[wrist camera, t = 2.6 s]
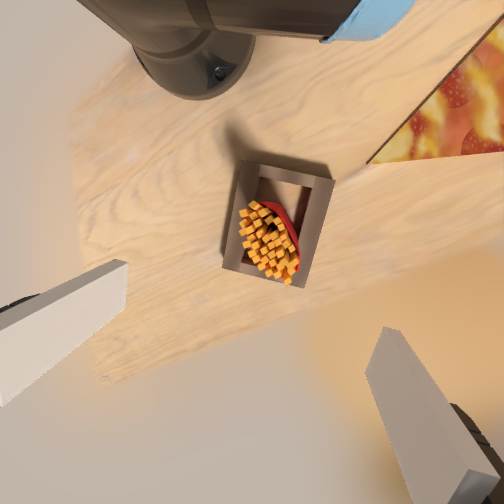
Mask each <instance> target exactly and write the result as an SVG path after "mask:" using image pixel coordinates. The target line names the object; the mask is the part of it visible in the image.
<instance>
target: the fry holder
mask: <svg viewBox="0 0 504 504" xmlns="http://www.w3.org/2000/svg"><path fill="white" fill-rule="evenodd" d="M260 177H265V178H269V179H274V180H278V181H283V182H287V183H292V184H296V185H301V186H306V187H310V188H311V190H310V194H309V197H308V201H307V205H306V209H305V212H304V216H303V220H302V224H301V227H300V231H299V235H298V245H299V250H300V263H299V271H297V272H295V273H293V274H292V282H291V283H290V284H289V285H292V286H296V287H300V288H305V284H306V281H307V277H308V274H309V270H310V267H311V264H312V260H313V257H314V253H315V250H316V246H317V243H318V239H319V236H320V233H321V229H322V226H323V222H324V219H325V215H326V212H327V209H328V205H329V202H330V198H331V195H332V191H333V188H334V184H335V181H336V180H332V179H328V178H323V177H318V176H314V175H309V174H305V173H300V172H295V171H291V170H286V169H281V168H277V167H272V166H268V165H263V164H258V163H254V162H249V161H244V160H242V162H241V168H240V173H239V178H238V184H237V189H236V195H235V200H234V205H233V211H232V216H231V222H230V227H229V232H228V238H227V243H226V249H225V254H224V259H223V265H222V268H224V269H228V270H232V271H236V272H240V273H244V274H248V275H252V276H256V277H260V278H264V279H268V280H272V281H276V282H280V283H284V282H283V278H280V277H279V278H277V279H275V277H274V275H271V276H270V277H268V278H267V276H266V274H265V271H266V268H265V269H263V270H261V271H259V268H258V266H257V265H258V263H259V262H260V261H259V262H257V263H255V264H254V262H253V260H252V259H248V258H244V254H245V249H246V248H245V249H244V246H243V244H242V243H243V242H244V241H246V240H247V237H248V236H247V234H246V235H244V236H241V235H240V233H239V232H238V231H239V230H241V229H243V228H242V227H241V225H240V224H239V222H241V221H243V220H244V217H241V216H240V213H239V211H240V210H243V209H248V208H250V206H249V205H248V204H250V203H251V202H252V201H256V196H257V192H258V187H259V182H260ZM284 284H285V283H284Z"/></svg>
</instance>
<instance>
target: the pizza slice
mask: <svg viewBox="0 0 504 504" xmlns="http://www.w3.org/2000/svg"><path fill="white" fill-rule="evenodd" d="M501 151H504V18H503V19H502V20H501V21H500V22H499V23H498V24H497V25H496V26H495V27H494V28H493V30H492V31H491V32H490V33H489V34H488V35H487V36H486V37H485V38H484V39H483V40H482V41H481V42H480V44H479V45H478V46H477V47H476V48H475V49H474V50H473V51H472V52H471V53H470V54H469V55H468V56H467V57H466V59H465V60H464V61H463V62H462V63H461V64H460V65H459V66H458V67H457V68H456V69H455V70H454V71H453V73H452V74H451V75H450V76H449V77H448V78H447V79H446V80H445V81H444V82H443V83H442V84H441V85H440V86H439V88H438V89H437V90H436V91H435V92H434V93H433V94H432V95H431V96H430V97H429V98H428V99H427V100H426V102H425V103H424V104H423V105H422V106H421V107H420V108H419V109H418V110H417V111H416V112H415V113H414V114H413V115H412V117H411V118H410V119H409V120H408V121H407V122H406V123H405V124H404V125H403V126H402V127H401V128H400V129H399V130H398V132H397V133H396V134H395V135H394V136H393V137H392V138H391V139H390V140H389V141H388V142H387V143H386V144H385V146H384V147H383V148H382V149H381V150H380V151H379V152H378V153H377V154H376V155H375V156H374V157H373V158H372V159H371V161H370V162H369V163H368V164H367V165H370V164H380V163H390V162H401V161H411V160H421V159H431V158H441V157H451V156H461V155H471V154H481V153H491V152H501Z"/></svg>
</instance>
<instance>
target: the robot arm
mask: <svg viewBox="0 0 504 504" xmlns="http://www.w3.org/2000/svg"><path fill="white" fill-rule="evenodd" d="M77 1H78V2H79V3H81V4H82V5H83V6H84V7H86V8H87V9H88V10H90V11H91V12H92V13H93V14H95V15H96V16H97V17H98V18H100V19H101V20H102V21H103V22H105V23H106V24H107V25H108V26H110V27H111V28H112V29H113V30H115V31H116V32H117V33H118V34H120V35H121V36H122V37H123V38H125V39H126V40H127V41H128V42H130V43H131V44H132V46H133V49H134V52H135V54H136V56H137V58H138V60H139V62H140V64H141V65H142V67H143V68H144V70H145V71H146V72H147V74H148V75H149V76H150V77H151V78H152V79H153V80H154V81H155V82H156V83H157V84H158V85H160V86H161V87H162V88H164V89H165V90H167V91H168V92H170V93H172V94H173V95H175V96H178V97H180V98H183V99H187V100H207V99H211V98H214V97H216V96H218V95H220V94H222V93H224V92H225V91H227V90H228V89H229V88H231V87H232V86H233V85H234V84H235V83H236V82H237V81H238V80H239V78H240V77H241V76H242V74H243V73H244V71H245V69H246V68H247V66H248V64H249V61H250V59H251V56H252V53H253V50H254V46H255V40H256V35H266V36H278V37H291V38H303V39H315V40H319V42H320V43H324V44H326V43H331V42H333V41H335V40H342V41H370V40H374V39H377V38H379V37H381V36H382V35H384V34H385V33H386V32H388V31H389V30H390V29H392V28H393V27H394V26H396V25H397V24H398V23H399V22H400V21H401V20H402V18H403V17H404V16H405V15H406V14H407V12H408V11H409V10H410V9H411V7H412V6H413V5H414V3H415V2H416V0H77ZM128 263H129V262H125V261H121V260H117V259H114V260H112V261H110V262H107V263H105V264H103V265H101V266H99V267H97V268H95V269H93V270H91V271H88V272H86V273H84V274H82V275H80V276H78V277H76V278H74V279H72V280H69V281H68V282H65V283H63V284H61V285H59V286H57V287H55V288H53V289H50V290H48V291H47V292H44V293H42V294H36V295H33V296H28V297H24V298H22V299H20V300H17V301H15V302H13V303H11V304H10V305H9V306H8V305H6V306H4V307H2V308H0V407H3V406H4V405H6V404H7V403H8V402H9V401H11V400H12V399H13V398H14V397H16V396H17V395H18V394H20V393H21V392H22V391H23V390H25V389H26V388H27V387H28V386H30V385H31V384H32V383H33V382H34V381H36V380H37V379H38V378H39V377H41V376H42V375H43V374H44V373H45V372H47V371H48V370H49V369H51V368H52V367H53V366H54V365H56V364H57V363H58V362H59V361H61V360H62V359H63V358H64V357H66V356H67V355H68V354H69V353H71V352H72V351H73V350H74V349H76V348H77V347H78V346H79V345H81V344H82V343H83V342H84V341H86V340H87V339H88V338H89V337H91V336H92V335H93V334H94V333H96V332H97V331H98V330H99V329H101V328H102V327H103V326H104V325H106V324H107V323H108V322H109V321H111V320H112V319H113V318H114V317H116V316H117V315H118V314H119V313H121V312H122V311H123V310H124V309H125V305H126V291H127V277H128ZM365 374H366V377H367V380H368V382H369V385H370V387H371V390H372V393H373V396H374V399H375V401H376V404H377V407H378V410H379V412H380V415H381V418H382V420H383V423H384V426H385V429H386V431H387V434H388V436H389V440H390V442H391V445H392V448H393V451H394V453H395V456H396V459H397V461H398V464H399V467H400V470H401V472H402V475H403V478H404V481H405V483H406V486H407V489H408V491H409V494H410V497H411V500H412V502H413V504H504V463H503V462H502V460H501V459H500V457H499V456H498V455H497V453H496V452H495V450H494V449H493V448H491V447H490V444H489V442H488V441H487V440H486V438H485V437H484V436H483V435H481V431H480V430H479V429H478V427H477V426H476V425H475V423H474V422H473V420H472V419H471V418H470V417H469V416H468V415H467V414H466V413H465V412H464V411H463V410H461V409H460V408H459V407H458V406H457V405H456V404H452V403H449V402H448V401H447V399H446V397H445V396H444V395H443V393H442V392H441V390H440V389H439V387H438V386H437V384H436V383H435V382H434V380H433V379H432V377H431V376H430V374H429V373H428V371H427V370H426V368H425V367H424V366H423V364H422V363H421V361H420V360H419V358H418V357H417V355H416V354H415V352H414V351H413V350H412V348H411V347H410V345H409V344H408V342H407V341H406V339H405V338H404V336H403V335H402V333H401V332H400V331H398V330H395V329H391V328H387V327H383V329H382V332H381V334H380V337H379V339H378V342H377V344H376V347H375V349H374V352H373V354H372V357H371V359H370V362H369V364H368V367H367V369H366V372H365Z"/></svg>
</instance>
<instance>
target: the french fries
mask: <svg viewBox="0 0 504 504" xmlns="http://www.w3.org/2000/svg"><path fill="white" fill-rule="evenodd" d="M248 205H249V206H250V208H248V209H243V210H240V211H239V213H240V216H241V217H244V220H243V221H241V222H239V224H240V225H241V227H242V228H243V229H241V230H239V231H238V232H239V233H240V235H241V236H244V235H246V234H247V236H248V237H247V240H246V241H244V242H243V243H242V244H243V246H244V249H245V248H248V247H250V246H252V249H251V250H250V251H248V255H249V257H250V258H251V257H252V260H253V262H254V264H255V263H257V262H259V261H260V262H259V263H258V265H257V266H258V268H259V271H261V270H263V269H265V268H266V271H265V274H266V276H267V278H268V277H270V276H271V275H274V277H275V279H277V278H279V277H280V278H283V282H284V283H285V285H286V286H288V285H289V284H290V283H291V282H292V274H293V273H295V272H297V271H299V263H300V250H299V245H298V239H297V234H296V231H295V229H294V226H293V224H292V223H291V221H290V219H289V217H288V215H287V213H286V211H285V210H284V208H283V206H282V205H280V204H277V203H275V202H273V201H262V202H259V203H257V202H255V201H252V202H251V203H250V204H248Z"/></svg>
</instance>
